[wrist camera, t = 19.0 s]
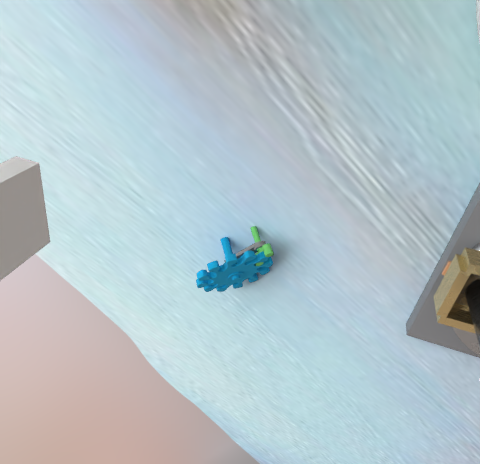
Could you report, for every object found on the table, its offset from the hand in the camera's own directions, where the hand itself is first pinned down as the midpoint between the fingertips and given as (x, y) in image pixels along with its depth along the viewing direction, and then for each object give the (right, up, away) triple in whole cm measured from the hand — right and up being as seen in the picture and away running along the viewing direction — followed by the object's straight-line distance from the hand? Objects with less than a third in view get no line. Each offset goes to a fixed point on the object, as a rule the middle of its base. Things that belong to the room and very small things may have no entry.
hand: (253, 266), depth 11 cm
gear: (0, -2, +44) cm, 44 cm away
